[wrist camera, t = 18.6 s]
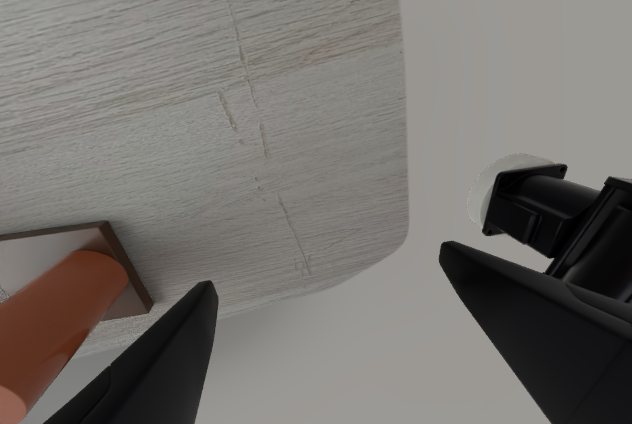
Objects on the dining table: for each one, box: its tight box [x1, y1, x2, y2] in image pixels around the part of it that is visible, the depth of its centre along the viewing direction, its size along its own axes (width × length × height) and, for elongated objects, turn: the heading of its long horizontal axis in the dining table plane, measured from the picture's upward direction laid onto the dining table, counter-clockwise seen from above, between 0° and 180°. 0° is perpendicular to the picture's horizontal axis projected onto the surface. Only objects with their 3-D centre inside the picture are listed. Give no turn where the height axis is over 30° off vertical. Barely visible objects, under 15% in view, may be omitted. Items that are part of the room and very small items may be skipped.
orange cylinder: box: [0, 250, 128, 424], centre depth 17 cm, size 5×5×10 cm
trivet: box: [0, 221, 154, 321], centre depth 22 cm, size 10×10×1 cm
